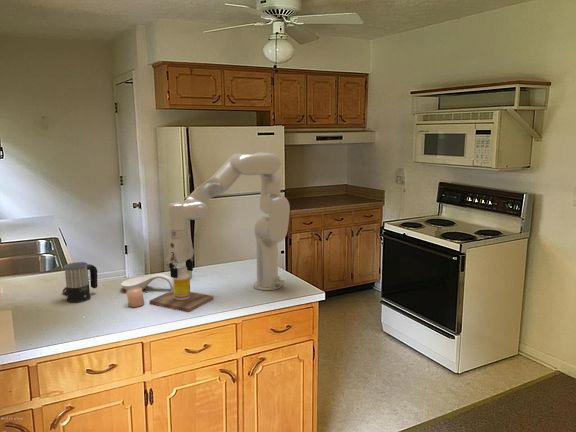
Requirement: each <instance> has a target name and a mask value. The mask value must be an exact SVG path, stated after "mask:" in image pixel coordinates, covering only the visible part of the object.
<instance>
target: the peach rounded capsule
mask: <svg viewBox="0 0 576 432" xmlns="http://www.w3.org/2000/svg"><path fill="white" fill-rule="evenodd" d="M125 292H126V296H127V303H128V306H129V308H136V307H140V306H143V305H144V304H145V299H144V294H143V290H142V288H139V287H138V288H132V289H129V290H125Z"/></svg>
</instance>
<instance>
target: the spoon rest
mask: <svg viewBox="0 0 576 432" xmlns="http://www.w3.org/2000/svg"><path fill="white" fill-rule="evenodd" d="M156 279H162V280H165V281H166V282H168V284H169V286H170V291H172V290H174V286H173V277H171V276H169V275H167V274H164V273H156V274H152V275H147V276H141V277H139V276H138V277H134V278H133V277H132V278H129V279H126V280H124V281H122V282H121V283H120V286H121V287H122V288H123V290H125V291H127V290H129V289H132V288H138V287H139V288H142V291H143V290H145V289H146V288H147V287H148V285H149V284H151V283H152V281H154V280H156Z"/></svg>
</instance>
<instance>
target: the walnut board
mask: <svg viewBox="0 0 576 432" xmlns="http://www.w3.org/2000/svg"><path fill="white" fill-rule="evenodd" d="M213 300H214V295H211V294H210V295H209V294H204V293H199V292H193V291H190V298H189V299H186V300H176V299H175V298H174V290H172V291H171V290H170V291H167V292H165V293H163V294H161V295H158V296H156V297H154V298H152V299H150V300H149V305H152V304H153V305H152V306H156V307H162V308H166V307H167V309H171V308H172V310H176V309H177V311H180V310H181V312H186V313H191V312H192V311H195V310H196V309H198V308H199V307H202V306H203V305H205V304H207V303H210V302H212V301H213Z"/></svg>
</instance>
